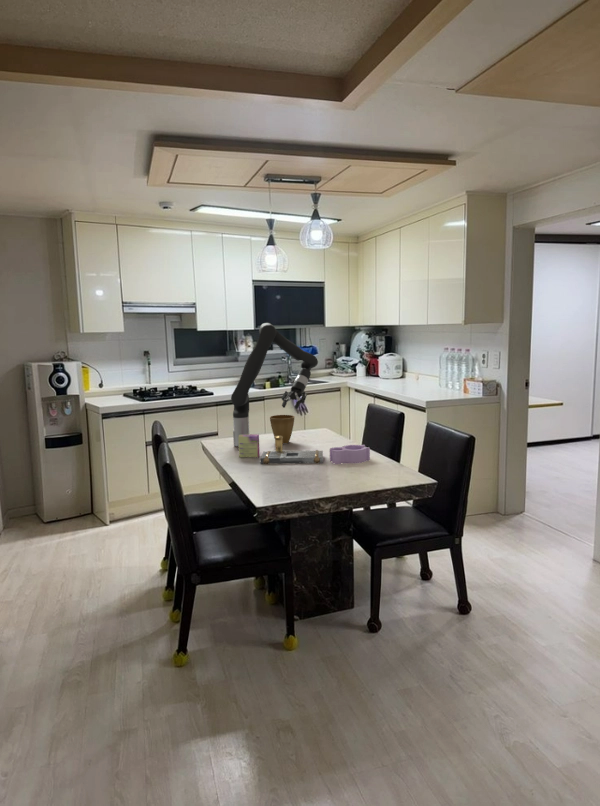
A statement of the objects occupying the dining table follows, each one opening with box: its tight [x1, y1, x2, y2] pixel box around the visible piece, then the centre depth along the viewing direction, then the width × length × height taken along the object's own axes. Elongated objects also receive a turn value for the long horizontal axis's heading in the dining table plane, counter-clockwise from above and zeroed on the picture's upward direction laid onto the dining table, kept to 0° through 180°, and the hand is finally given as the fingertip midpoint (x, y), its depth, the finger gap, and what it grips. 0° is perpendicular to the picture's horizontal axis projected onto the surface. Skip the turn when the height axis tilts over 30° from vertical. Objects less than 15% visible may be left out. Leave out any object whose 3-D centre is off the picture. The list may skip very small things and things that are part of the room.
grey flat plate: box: [260, 449, 324, 465], centre depth 272 cm, size 32×15×3 cm, turn 88°
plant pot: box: [269, 414, 295, 444], centre depth 311 cm, size 15×15×16 cm
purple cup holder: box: [329, 444, 371, 465], centre depth 268 cm, size 20×12×7 cm, turn 106°
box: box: [238, 433, 261, 458], centre depth 282 cm, size 10×6×12 cm, turn 84°
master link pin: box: [273, 435, 284, 451], centre depth 284 cm, size 5×5×10 cm
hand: (289, 407), depth 291 cm, fingers open, 8 cm apart
